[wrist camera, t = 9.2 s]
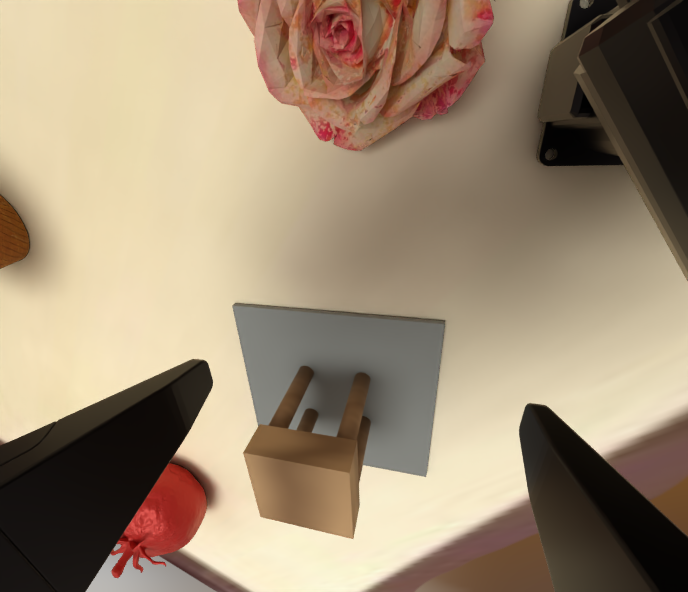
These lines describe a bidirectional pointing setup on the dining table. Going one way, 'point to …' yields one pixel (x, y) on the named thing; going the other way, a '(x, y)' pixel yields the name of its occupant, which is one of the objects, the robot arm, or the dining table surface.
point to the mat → (348, 374)
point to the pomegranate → (163, 519)
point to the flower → (367, 59)
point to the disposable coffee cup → (11, 235)
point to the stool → (310, 462)
